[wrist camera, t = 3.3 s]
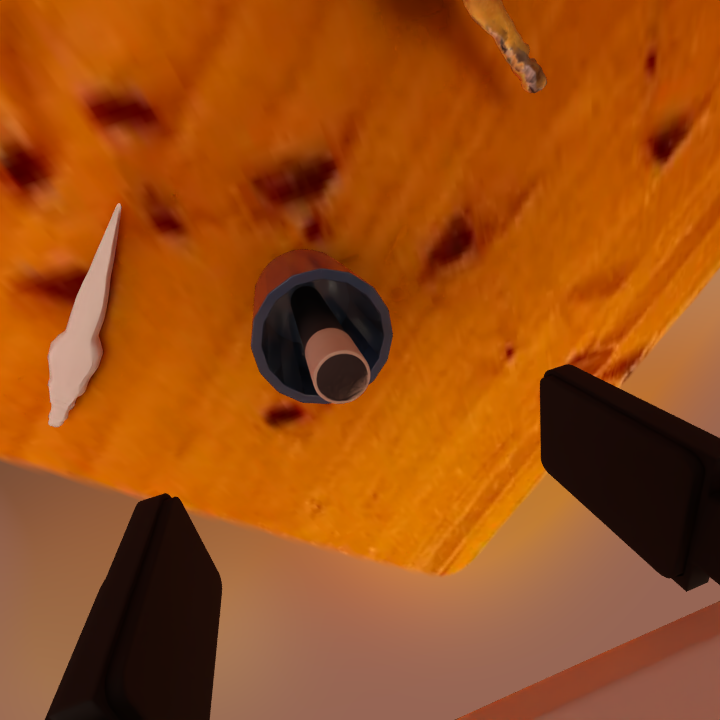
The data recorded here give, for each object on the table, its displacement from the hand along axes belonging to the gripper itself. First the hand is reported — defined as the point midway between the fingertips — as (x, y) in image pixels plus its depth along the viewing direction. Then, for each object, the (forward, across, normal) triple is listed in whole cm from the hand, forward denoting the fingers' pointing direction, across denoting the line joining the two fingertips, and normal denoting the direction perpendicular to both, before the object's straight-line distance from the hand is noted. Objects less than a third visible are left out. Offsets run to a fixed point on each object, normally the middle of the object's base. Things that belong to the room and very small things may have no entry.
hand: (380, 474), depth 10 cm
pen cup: (+19, 0, 0) cm, 19 cm away
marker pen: (+19, 0, 0) cm, 19 cm away
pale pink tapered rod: (+20, +13, -3) cm, 24 cm away
